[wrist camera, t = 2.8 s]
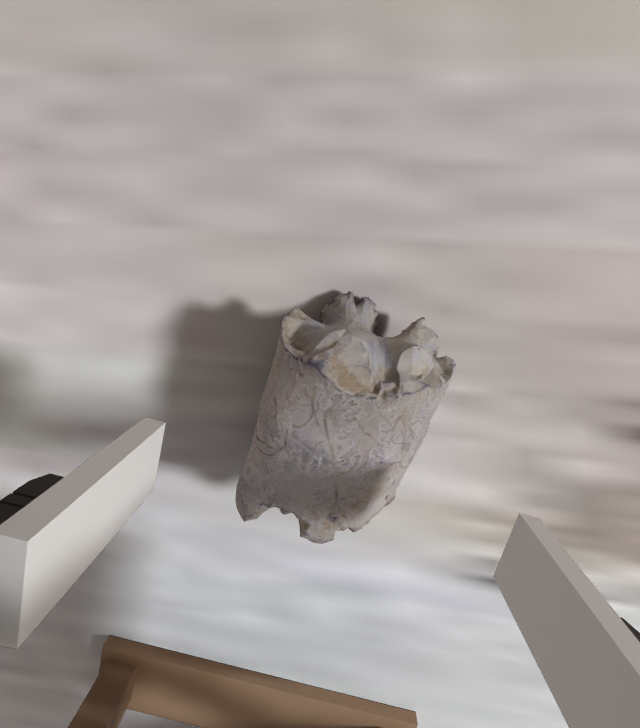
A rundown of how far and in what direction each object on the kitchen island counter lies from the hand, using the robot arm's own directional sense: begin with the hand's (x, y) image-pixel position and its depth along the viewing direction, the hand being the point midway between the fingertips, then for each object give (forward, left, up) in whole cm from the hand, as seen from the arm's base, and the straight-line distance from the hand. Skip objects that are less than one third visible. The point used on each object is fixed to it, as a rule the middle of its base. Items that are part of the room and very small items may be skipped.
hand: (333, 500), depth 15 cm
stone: (-1, 0, -10) cm, 10 cm away
